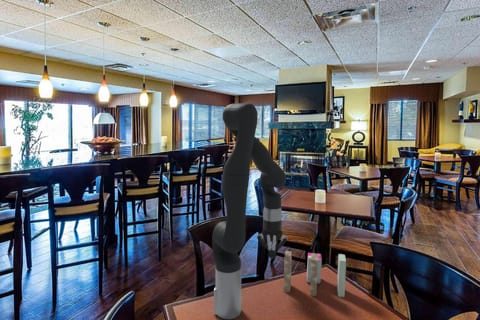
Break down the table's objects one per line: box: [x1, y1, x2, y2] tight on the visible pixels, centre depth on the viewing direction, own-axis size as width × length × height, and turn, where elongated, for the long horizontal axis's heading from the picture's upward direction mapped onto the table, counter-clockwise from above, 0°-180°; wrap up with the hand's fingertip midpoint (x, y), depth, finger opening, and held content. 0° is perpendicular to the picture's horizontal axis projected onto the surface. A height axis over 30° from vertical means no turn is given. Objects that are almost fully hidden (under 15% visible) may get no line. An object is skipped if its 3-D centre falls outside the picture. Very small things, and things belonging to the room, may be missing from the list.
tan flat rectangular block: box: [283, 250, 293, 293], centre depth 126 cm, size 2×6×15 cm, turn 166°
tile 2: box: [309, 252, 319, 297], centre depth 123 cm, size 2×6×15 cm, turn 166°
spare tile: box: [336, 253, 347, 298], centre depth 122 cm, size 2×6×15 cm, turn 166°
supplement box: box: [306, 252, 323, 285], centre depth 132 cm, size 6×6×12 cm
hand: (271, 257), depth 127 cm, fingers closed
